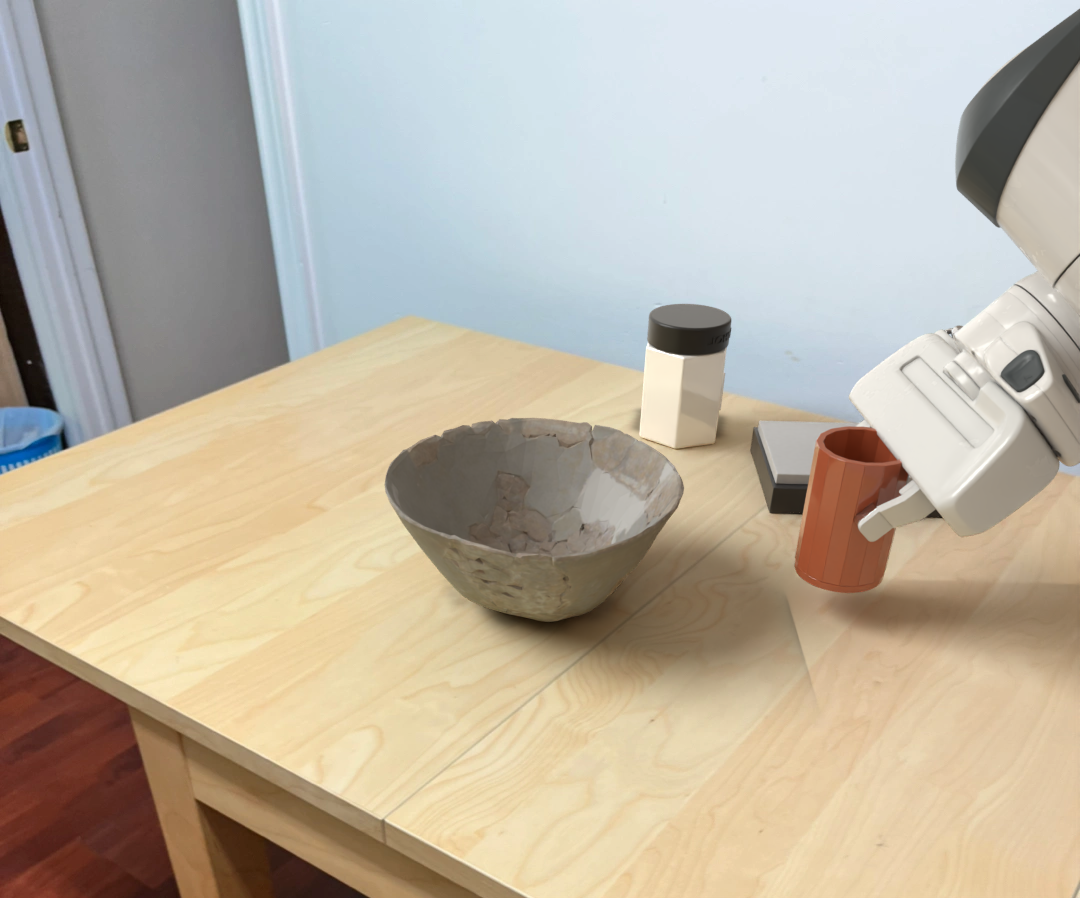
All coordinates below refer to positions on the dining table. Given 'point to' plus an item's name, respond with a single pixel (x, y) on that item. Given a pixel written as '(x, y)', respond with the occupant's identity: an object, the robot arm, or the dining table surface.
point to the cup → (846, 510)
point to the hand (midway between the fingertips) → (844, 505)
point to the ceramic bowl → (534, 510)
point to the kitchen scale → (788, 461)
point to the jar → (684, 374)
